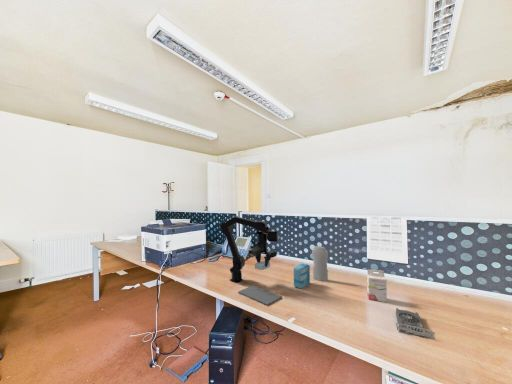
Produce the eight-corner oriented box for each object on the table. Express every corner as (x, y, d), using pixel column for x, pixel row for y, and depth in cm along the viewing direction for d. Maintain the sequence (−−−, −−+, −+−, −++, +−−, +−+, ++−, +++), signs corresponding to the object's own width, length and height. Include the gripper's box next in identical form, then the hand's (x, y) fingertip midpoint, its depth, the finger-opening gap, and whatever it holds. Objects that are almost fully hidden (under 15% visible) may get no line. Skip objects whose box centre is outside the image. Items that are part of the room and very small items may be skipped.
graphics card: (435, 332, 82) (397, 323, 88) (435, 343, 82) (397, 333, 88) (425, 312, 97) (394, 305, 103) (425, 321, 97) (394, 313, 103)
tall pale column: (311, 278, 145) (310, 245, 146) (313, 277, 149) (313, 244, 149) (327, 282, 139) (326, 247, 140) (329, 280, 143) (328, 246, 143)
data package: (300, 289, 129) (299, 269, 129) (293, 287, 132) (293, 267, 132) (310, 283, 138) (309, 264, 138) (303, 281, 141) (303, 262, 141)
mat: (238, 293, 125) (238, 291, 125) (252, 286, 134) (252, 285, 134) (267, 306, 110) (267, 304, 110) (281, 297, 118) (281, 296, 118)
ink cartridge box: (368, 299, 115) (368, 271, 116) (367, 295, 120) (366, 268, 120) (387, 302, 112) (386, 273, 113) (385, 298, 117) (384, 270, 117)
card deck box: (254, 268, 137) (254, 263, 137) (263, 265, 144) (263, 260, 144) (261, 270, 134) (261, 265, 134) (270, 266, 140) (270, 262, 140)
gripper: (242, 241, 139) (243, 266, 139) (265, 245, 127) (265, 272, 126) (254, 238, 147) (254, 262, 147) (277, 242, 135) (277, 267, 135)
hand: (262, 266), depth 139 cm, fingers closed on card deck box, 5 cm apart
